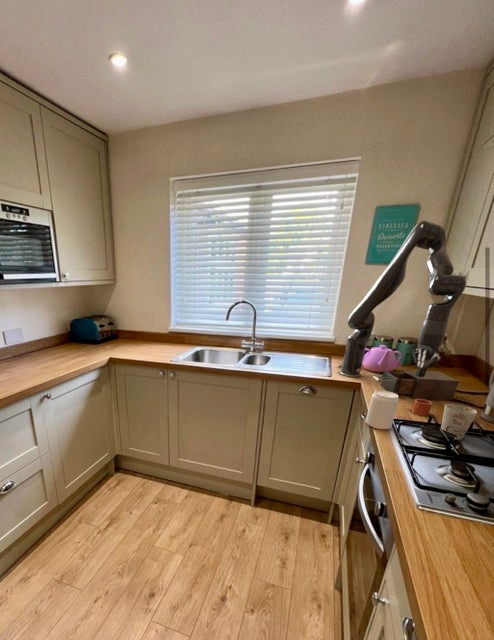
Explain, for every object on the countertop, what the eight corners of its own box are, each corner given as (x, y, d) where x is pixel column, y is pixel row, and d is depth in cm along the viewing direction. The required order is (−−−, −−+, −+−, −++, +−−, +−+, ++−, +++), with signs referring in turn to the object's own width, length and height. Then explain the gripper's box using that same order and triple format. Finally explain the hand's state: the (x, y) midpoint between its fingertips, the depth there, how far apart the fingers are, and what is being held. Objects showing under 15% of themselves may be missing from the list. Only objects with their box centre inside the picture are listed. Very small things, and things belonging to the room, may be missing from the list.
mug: (433, 435, 112) (443, 408, 108) (440, 424, 120) (449, 398, 116) (464, 444, 106) (475, 416, 103) (470, 432, 114) (480, 405, 111)
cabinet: (413, 398, 145) (418, 378, 141) (397, 387, 157) (403, 369, 154) (452, 400, 143) (459, 380, 140) (433, 389, 156) (439, 371, 152)
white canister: (390, 424, 119) (399, 392, 115) (390, 432, 113) (400, 400, 108) (365, 418, 123) (373, 388, 118) (364, 426, 116) (372, 395, 112)
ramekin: (408, 409, 132) (412, 398, 131) (423, 410, 132) (427, 399, 130) (416, 415, 127) (420, 403, 125) (431, 416, 127) (435, 404, 125)
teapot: (360, 374, 177) (366, 348, 172) (353, 363, 196) (358, 340, 191) (406, 378, 171) (414, 352, 166) (394, 367, 191) (401, 344, 186)
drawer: (378, 393, 146) (382, 378, 144) (367, 384, 158) (370, 370, 155) (428, 396, 144) (433, 381, 142) (413, 387, 156) (417, 372, 153)
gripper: (457, 335, 117) (442, 381, 123) (429, 329, 129) (417, 371, 135) (437, 335, 116) (422, 381, 123) (411, 329, 129) (399, 371, 135)
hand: (419, 376), depth 129 cm, fingers closed
